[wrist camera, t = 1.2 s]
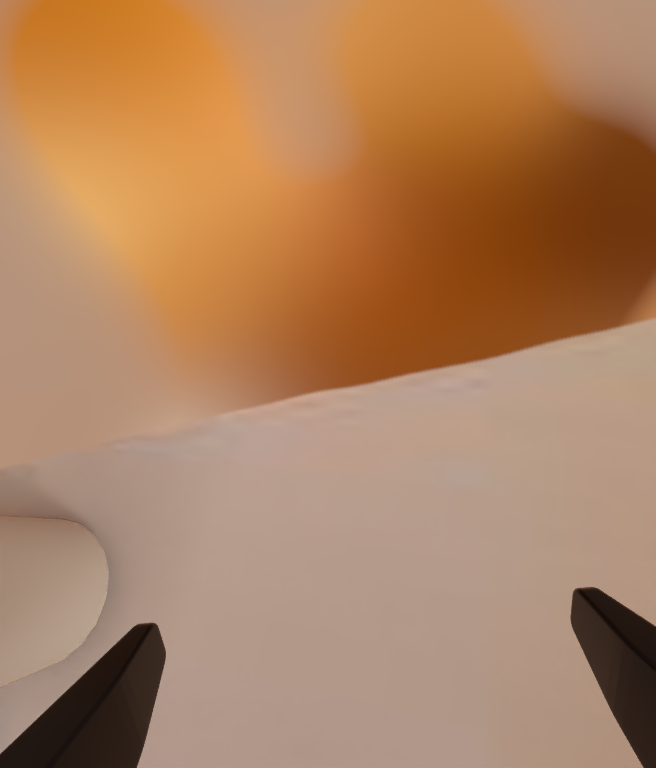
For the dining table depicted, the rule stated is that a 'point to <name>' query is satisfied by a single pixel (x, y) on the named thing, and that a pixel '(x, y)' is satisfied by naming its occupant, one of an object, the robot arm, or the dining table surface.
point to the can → (46, 592)
